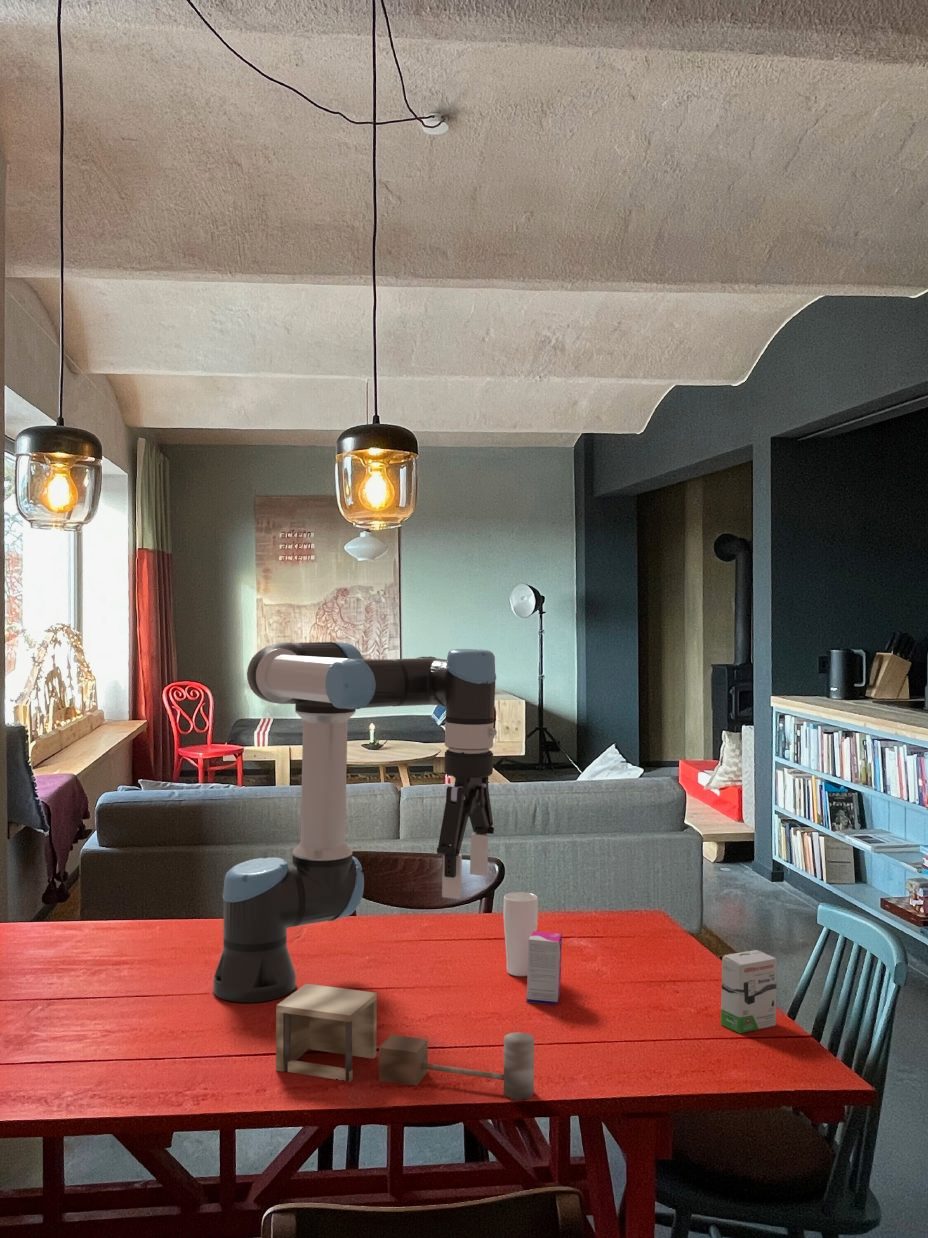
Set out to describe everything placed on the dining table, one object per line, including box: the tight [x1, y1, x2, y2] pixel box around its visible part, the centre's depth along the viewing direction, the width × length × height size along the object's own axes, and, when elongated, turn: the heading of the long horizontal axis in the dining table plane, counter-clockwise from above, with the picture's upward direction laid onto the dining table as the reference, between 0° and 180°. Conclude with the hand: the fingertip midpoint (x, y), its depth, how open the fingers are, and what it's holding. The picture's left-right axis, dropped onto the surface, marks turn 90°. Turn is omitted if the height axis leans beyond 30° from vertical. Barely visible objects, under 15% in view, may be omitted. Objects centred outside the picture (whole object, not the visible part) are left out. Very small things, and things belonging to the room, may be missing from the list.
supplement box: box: [526, 931, 563, 1006], centre depth 190 cm, size 6×6×12 cm
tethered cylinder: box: [378, 1031, 535, 1101], centre depth 155 cm, size 23×5×8 cm, turn 73°
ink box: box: [720, 949, 778, 1034], centre depth 178 cm, size 9×5×12 cm, turn 117°
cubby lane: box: [275, 983, 378, 1083], centre depth 162 cm, size 12×10×10 cm
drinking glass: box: [502, 891, 539, 977], centre depth 204 cm, size 7×7×15 cm
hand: (465, 886), depth 161 cm, fingers open, 13 cm apart
